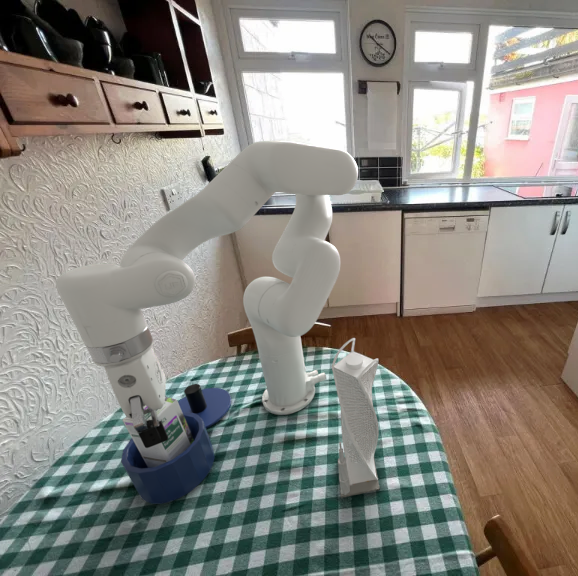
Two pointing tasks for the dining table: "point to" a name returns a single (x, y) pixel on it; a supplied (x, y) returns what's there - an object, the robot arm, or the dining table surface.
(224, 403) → the lid
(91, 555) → the dining table surface
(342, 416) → the skyscraper
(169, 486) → the pot
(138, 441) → the syrup box
